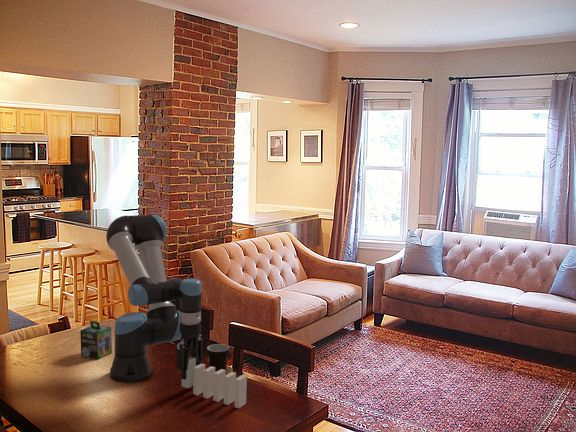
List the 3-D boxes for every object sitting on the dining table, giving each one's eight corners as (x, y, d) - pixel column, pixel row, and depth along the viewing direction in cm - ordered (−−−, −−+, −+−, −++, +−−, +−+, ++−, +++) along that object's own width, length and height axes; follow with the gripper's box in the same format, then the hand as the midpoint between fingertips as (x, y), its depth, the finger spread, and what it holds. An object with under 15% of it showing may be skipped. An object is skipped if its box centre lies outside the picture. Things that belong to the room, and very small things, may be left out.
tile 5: (223, 403, 184) (224, 376, 183) (231, 399, 188) (231, 371, 187) (228, 405, 183) (228, 377, 182) (235, 400, 187) (236, 372, 186)
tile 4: (213, 400, 186) (213, 373, 185) (220, 395, 190) (221, 369, 189) (217, 401, 185) (218, 374, 184) (224, 397, 189) (225, 370, 188)
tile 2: (193, 394, 190) (193, 367, 189) (200, 389, 194) (201, 363, 193) (197, 395, 189) (197, 368, 188) (204, 391, 193) (205, 364, 192)
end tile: (184, 386, 192) (184, 360, 191) (191, 382, 196) (192, 356, 195) (188, 388, 191) (188, 361, 190) (195, 383, 195) (196, 357, 194)
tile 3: (203, 397, 188) (203, 370, 187) (210, 392, 192) (211, 366, 191) (207, 398, 187) (207, 371, 186) (214, 394, 191) (215, 367, 190)
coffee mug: (224, 377, 206) (225, 352, 205) (203, 375, 207) (203, 350, 206) (233, 366, 217) (234, 342, 216) (213, 364, 219) (214, 340, 218)
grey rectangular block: (234, 407, 182) (235, 379, 181) (241, 402, 185) (242, 374, 184) (238, 408, 181) (239, 380, 180) (246, 403, 185) (246, 375, 184)
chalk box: (112, 352, 227) (112, 319, 226) (97, 360, 219) (97, 325, 217) (95, 349, 231) (95, 316, 229) (79, 356, 222) (79, 322, 220)
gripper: (182, 330, 182) (181, 395, 184) (213, 318, 197) (212, 378, 199) (165, 326, 186) (165, 390, 188) (197, 314, 201) (196, 374, 203)
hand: (189, 384), depth 194 cm, fingers closed on end tile, 4 cm apart
